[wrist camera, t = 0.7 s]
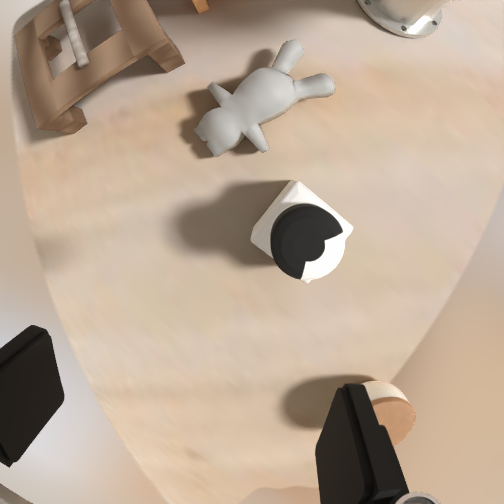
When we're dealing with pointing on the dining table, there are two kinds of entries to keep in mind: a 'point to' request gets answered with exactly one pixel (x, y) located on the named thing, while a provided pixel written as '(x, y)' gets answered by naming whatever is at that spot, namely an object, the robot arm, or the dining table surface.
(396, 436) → the lidded jar
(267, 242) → the medicine bottle
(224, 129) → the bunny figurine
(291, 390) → the dining table surface
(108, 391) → the dining table surface
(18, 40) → the brown square frame
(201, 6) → the orange boxy part
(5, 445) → the robot arm
